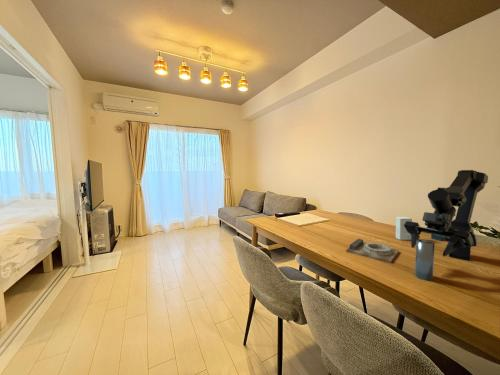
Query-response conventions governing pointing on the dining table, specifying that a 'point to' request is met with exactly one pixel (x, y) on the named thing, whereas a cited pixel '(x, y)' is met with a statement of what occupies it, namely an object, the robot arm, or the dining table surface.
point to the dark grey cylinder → (424, 259)
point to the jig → (373, 250)
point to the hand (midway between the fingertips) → (427, 251)
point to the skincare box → (402, 228)
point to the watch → (437, 237)
